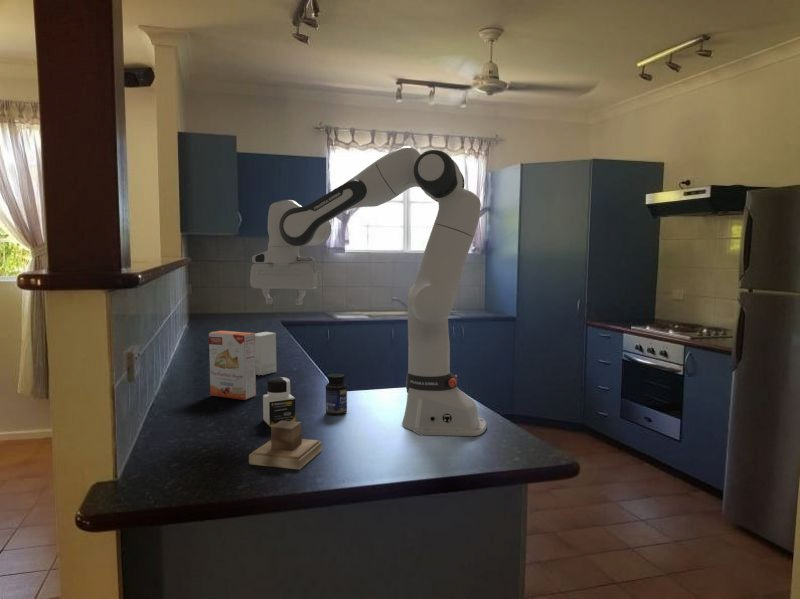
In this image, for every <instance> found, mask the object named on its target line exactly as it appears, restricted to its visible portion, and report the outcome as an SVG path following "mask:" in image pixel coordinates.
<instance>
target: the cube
mask: <svg viewBox="0 0 800 599" xmlns="http://www.w3.org/2000/svg"><path fill="white" fill-rule="evenodd" d="M302 432H303V430H302V421H295V422H294V421H283V420H281V421H280V422H278V423H276V424H275V425H273V426H271V427H270V437H271V438H270V440H271V449H277V450H287V451H293V450H294V449H295V448H297V447H298V446H299V445H301V444H302V439H303V438H302V437H303V434H302Z"/></svg>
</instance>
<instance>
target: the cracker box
mask: <svg viewBox="0 0 800 599" xmlns="http://www.w3.org/2000/svg"><path fill="white" fill-rule="evenodd" d="M208 344H209V345H208V349H209V389H210V391H209V392H210V394H209V395H210V397H211V396H212V397H213V396H214V397H220V398H227V399H235V400H241V401H242V400H243V401H247V400H249V399H251V398H254V397H257V383H256V381H257V380H256V379H257V377H256V365H255V332H246V331H245V332H242V331H233V330H231V331H230V330H216V331H211V332H209V333H208Z"/></svg>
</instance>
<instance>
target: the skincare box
mask: <svg viewBox="0 0 800 599" xmlns="http://www.w3.org/2000/svg"><path fill="white" fill-rule="evenodd" d="M254 333H255V332H254ZM255 365H256V375H257V376H260V375H262V376H265V375H268V374H273V373H277V333H276V332H271V331H262V332H257V333H255Z"/></svg>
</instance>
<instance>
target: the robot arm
mask: <svg viewBox="0 0 800 599" xmlns="http://www.w3.org/2000/svg"><path fill="white" fill-rule="evenodd" d="M414 187H415V188H420V189H421V190H422V191H423V193H424V194H425V195H427V196H428V197H429V198H431V199H432V200H433V201H435V202H436V203H438V211H437V214H436V217H435V220H434V223H433V225H432V229H431V232H430V234H429V237H428V241H427V242H426V246H425V248H424V252H423V255H422V258H421V263H420V267H419V269H418V273H417V276H416V280H415V283H413V284H412V285H411V286H410V288H409V289H408V294H407V340H408V346H407V347H408V353H407V354H408V358H407V359H408V362H407V363H408V365H407V367H408V368H407V369H408V370H407V372H406V379H405V389H406V393H407V396H406V404H405V409H404V410H405V411H404V416H403V417H402V418H403V419H402V422H401V424H402V426H403V427H405V428H406V429H407V430H411V431H413V432H414V433H416V434H417V435H420V436H421V435H422V436H425V435H426V436H456V437H457V436H458V437H459V436H460V437H461V436H463V437H464V436H465V437H476V436H480V435H482V434H483V433H484V432H485V431H486V429H487V421H486V420H485V419H484V418H482V417H480V416H479V412H478V408H477V404H476V402H475V400H474V399H472V398H471V397H469V396H468V394H466V393H465V392H464V391H462V390H461V389H460V388H459V387H458V374H453V373H451V371H450V366H451V364H450V363H451V361H450V356H451V355H450V354H451V352H450V351H451V343H450V334H449V316H450V315H451V312H452V311H453V307H454V304H455V300H456V298H457V293H458V291H459V286H460V283H461V278H462V274H463V271H464V266H465V264H466V261H467V257H468V254H469V252H470V250H471V246H472V243H473V241H474V237H475V234H476V231H477V228H478V225H479V224H478V222H479V219H480V215H481V214H480V213H481V206H482V205H481V204H482V203H481V200H480V198H479V196H477V194H475V193H474V192H472V191H470V190H467V189H465V178H464V175H463V173H462V172H461V169H460V167H459V165H458V164H457V163H456V162H455V160H454V159H453V158H452V157H451V156H450V155H449V154H448V153H446V152H445V151H442V150H439V149H430V150H426V151H424V152H423V153H420V152H419V151H418V150H417V149H416V148H414V147H412V146H409V145H407V146H402V147H399V148H398V149H394V150H392V151H391V152H389V153H387V154H385V155H383V156H381V157H380V158H379V159H377V160H375V161H374V162H372V163H371V164H369V165H368V166H367V167H366V168H363V169H362V170H361V171H360V172H358V173H357V174H356V175H355V176H353V177H352V178H350V179H349V180H347V181H345V182H344V183H343V184H341V185H340V186H337V187H336V188H335V189H332V190H331V191H329V192H328V193H326V194H324V195H323V196H321V197H319V198H318V199H316V200H314V201H312V202H311V203H309V204H306V205H304V206H302V205H301V204H299V203H298V202H297V201H296V200H293V199H282V200H281V199H280V200H277V201H274V202H273V203H272V204H270V206H269V208H268V214H267V234H268V236H269V237H268V244H267V250H266V251H263V252H260V253H257V254H254V255H253V256H251V261H252V263H253V264H252V265H251V267H250V272H249V273H250V274H249V275H250V277H249V280H250V281H249V284H250V286H251V287H252V289H261V293H262V295H263V297H264V298H265V304H266V305H273V304H274V297H271V295H270V292H271V291H270V290H271V289H273V290H274V289H279V290H298V293H299V296H298V298H295V305H296V306H302V305H303V303H304V302H303V299H304V298H305V295H307V290H315V289H317V288H318V286H319V280H318V272H317V270H318V262H317V260H316V259H314V257H312V256H307V257H305V256H300V246H319V245H322V244H324V243H326V242H327V241H328V240H329V238H330V237H331V234H332V224H331V220H333V219H335V218H337V217H338V216H340V215H341V214H343V213H344V212H347V211H350V210H352V209H357V208H368V207H369V208H374V207H378V206H380V205H383V204H386V203H388V202H390V201H392V200H394V199H395V198H396V197H398V196H399V195H401V194H403V193H404V192H405V191H407V190H409V189H411V188H414Z"/></svg>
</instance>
